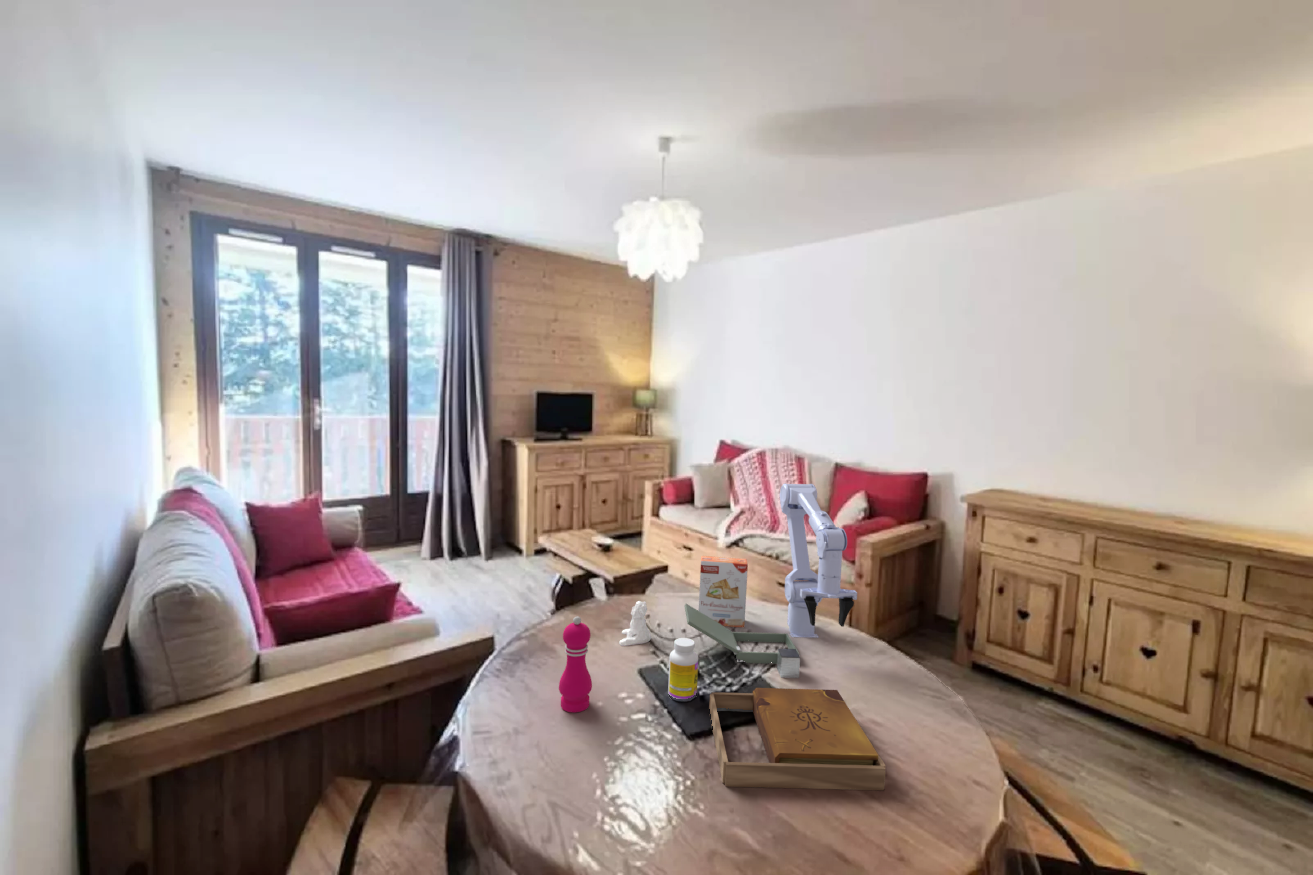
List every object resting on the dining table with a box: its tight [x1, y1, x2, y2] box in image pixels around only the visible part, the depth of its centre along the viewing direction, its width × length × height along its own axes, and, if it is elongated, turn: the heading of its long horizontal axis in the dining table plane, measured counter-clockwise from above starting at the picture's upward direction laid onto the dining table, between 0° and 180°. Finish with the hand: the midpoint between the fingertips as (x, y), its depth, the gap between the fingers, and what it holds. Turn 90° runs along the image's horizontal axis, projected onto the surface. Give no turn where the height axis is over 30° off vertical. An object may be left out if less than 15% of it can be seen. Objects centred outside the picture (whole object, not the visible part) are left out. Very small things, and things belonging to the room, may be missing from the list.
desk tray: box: [708, 691, 887, 791], centre depth 114 cm, size 25×29×4 cm
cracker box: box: [698, 555, 749, 628], centre depth 172 cm, size 14×6×21 cm, turn 83°
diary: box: [752, 687, 879, 766], centre depth 115 cm, size 23×19×6 cm
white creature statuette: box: [618, 600, 652, 647], centre depth 159 cm, size 10×9×12 cm
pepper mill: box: [558, 616, 593, 713], centre depth 126 cm, size 7×7×20 cm
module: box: [776, 648, 801, 679], centre depth 143 cm, size 4×4×6 cm
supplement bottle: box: [667, 637, 699, 699], centre depth 131 cm, size 7×7×13 cm
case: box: [684, 603, 800, 665], centre depth 154 cm, size 13×29×11 cm, turn 91°
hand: (826, 624), depth 151 cm, fingers open, 7 cm apart
